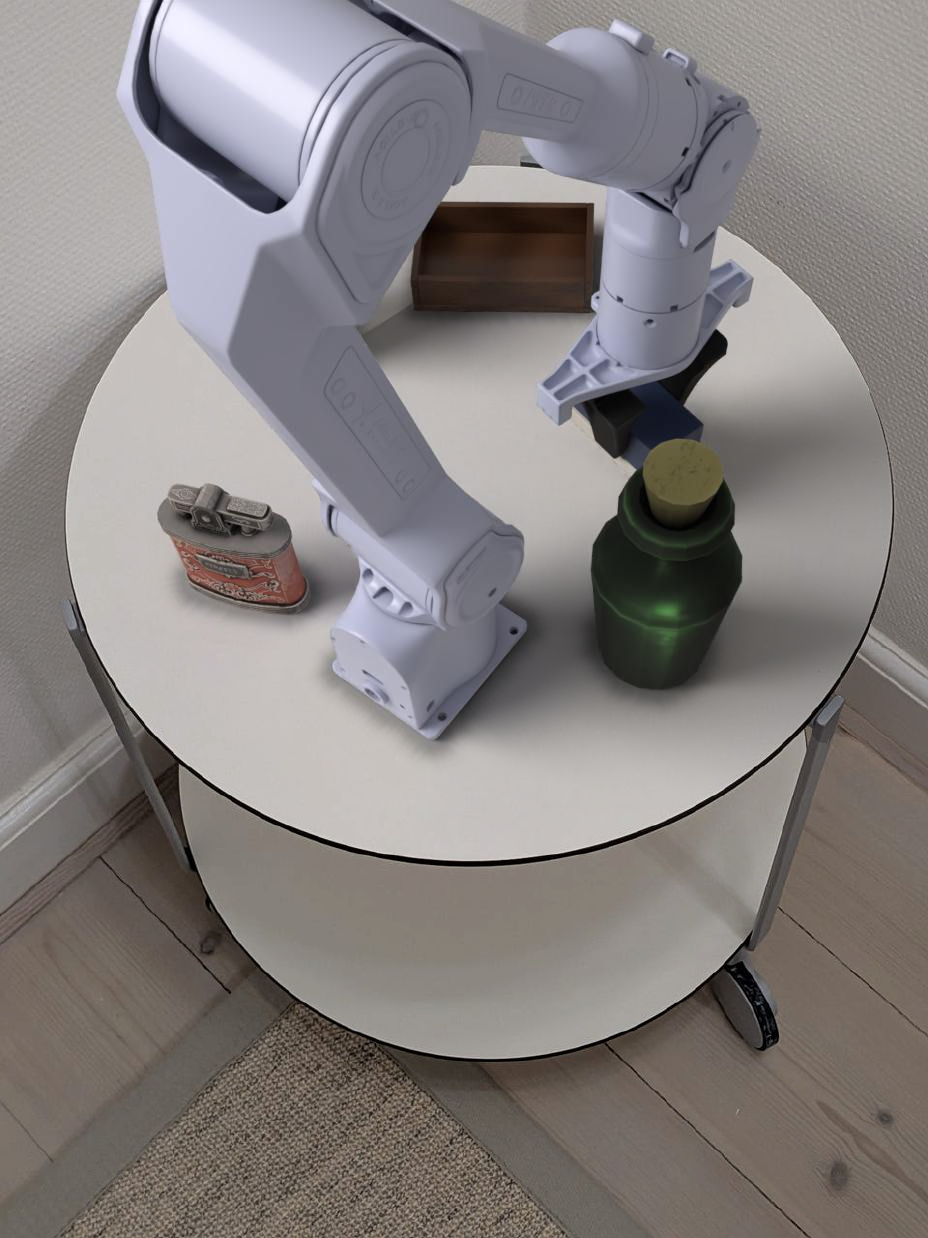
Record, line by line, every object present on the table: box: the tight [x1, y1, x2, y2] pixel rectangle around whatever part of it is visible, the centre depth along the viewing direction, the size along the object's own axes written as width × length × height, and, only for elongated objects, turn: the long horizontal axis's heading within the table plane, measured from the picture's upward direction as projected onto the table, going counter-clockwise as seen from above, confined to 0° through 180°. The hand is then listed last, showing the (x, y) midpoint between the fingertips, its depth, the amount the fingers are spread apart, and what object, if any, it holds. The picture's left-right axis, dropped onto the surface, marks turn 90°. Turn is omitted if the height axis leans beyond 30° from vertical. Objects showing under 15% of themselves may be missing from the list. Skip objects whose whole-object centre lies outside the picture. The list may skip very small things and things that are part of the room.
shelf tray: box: [409, 200, 595, 313], centre depth 88 cm, size 12×8×3 cm, turn 86°
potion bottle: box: [590, 439, 743, 691], centre depth 67 cm, size 8×8×18 cm
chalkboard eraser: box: [569, 381, 705, 478], centre depth 77 cm, size 8×4×4 cm, turn 37°
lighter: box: [156, 482, 312, 615], centre depth 74 cm, size 8×3×10 cm, turn 73°
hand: (635, 428), depth 78 cm, fingers closed on chalkboard eraser, 4 cm apart
